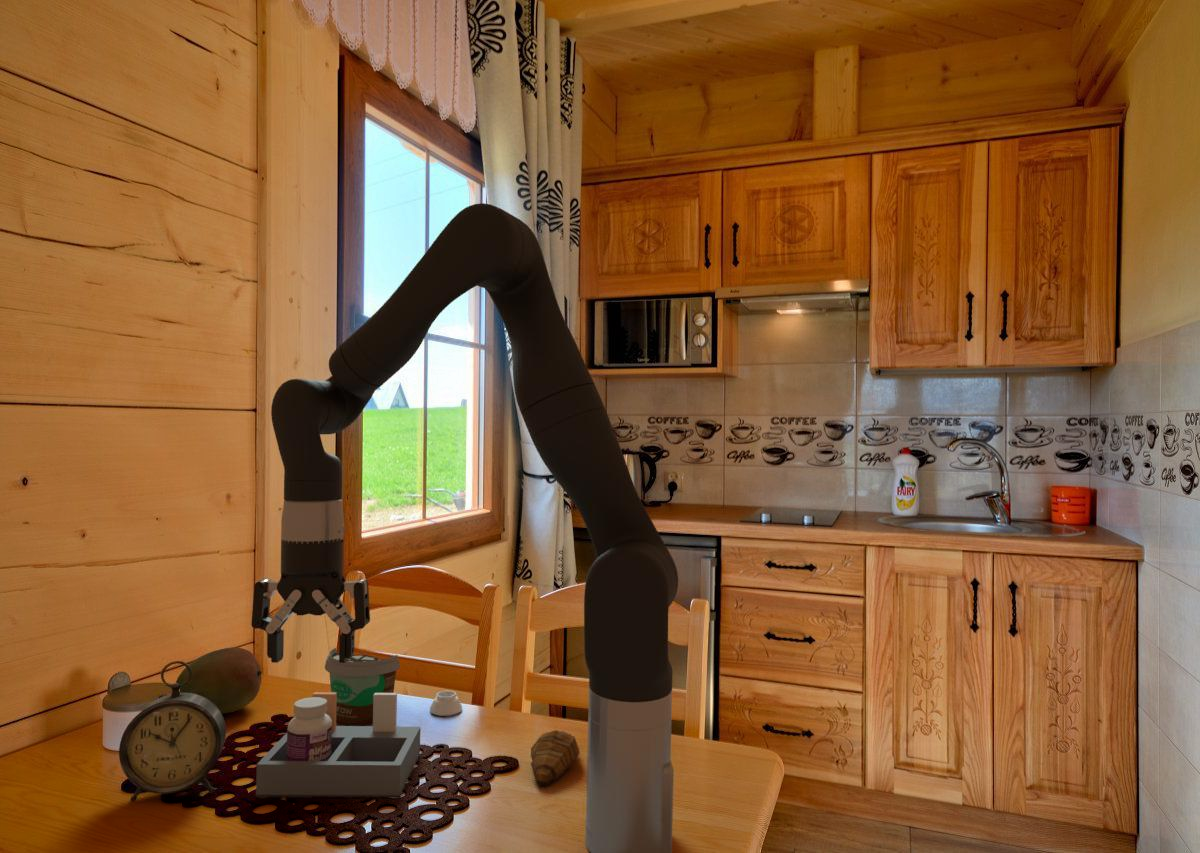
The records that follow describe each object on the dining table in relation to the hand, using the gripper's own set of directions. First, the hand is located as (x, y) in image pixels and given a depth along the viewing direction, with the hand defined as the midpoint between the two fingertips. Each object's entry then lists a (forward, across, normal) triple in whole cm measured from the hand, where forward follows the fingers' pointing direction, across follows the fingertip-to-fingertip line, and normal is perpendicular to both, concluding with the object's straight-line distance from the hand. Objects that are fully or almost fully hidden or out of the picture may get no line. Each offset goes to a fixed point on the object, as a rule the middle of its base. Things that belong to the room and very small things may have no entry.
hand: (311, 661), depth 96 cm
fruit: (+15, -22, +22) cm, 35 cm away
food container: (+15, 0, +19) cm, 25 cm away
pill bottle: (+15, 0, 0) cm, 15 cm away
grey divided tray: (+15, +4, +1) cm, 16 cm away
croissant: (+16, +31, +5) cm, 35 cm away
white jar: (+16, +13, +24) cm, 32 cm away
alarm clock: (+15, -15, -4) cm, 22 cm away
